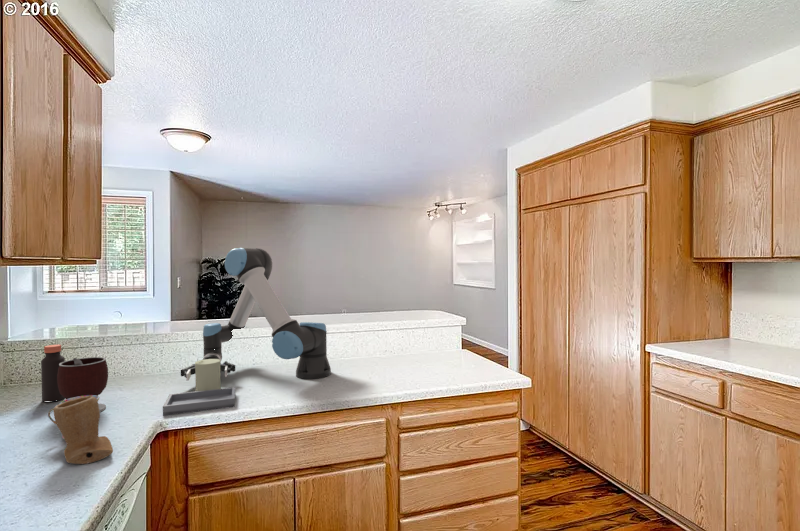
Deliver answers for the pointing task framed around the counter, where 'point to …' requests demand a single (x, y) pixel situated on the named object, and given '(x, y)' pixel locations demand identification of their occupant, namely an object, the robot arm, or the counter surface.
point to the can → (207, 374)
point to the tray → (199, 401)
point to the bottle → (51, 373)
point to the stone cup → (82, 430)
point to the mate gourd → (83, 377)
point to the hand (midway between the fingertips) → (206, 375)
